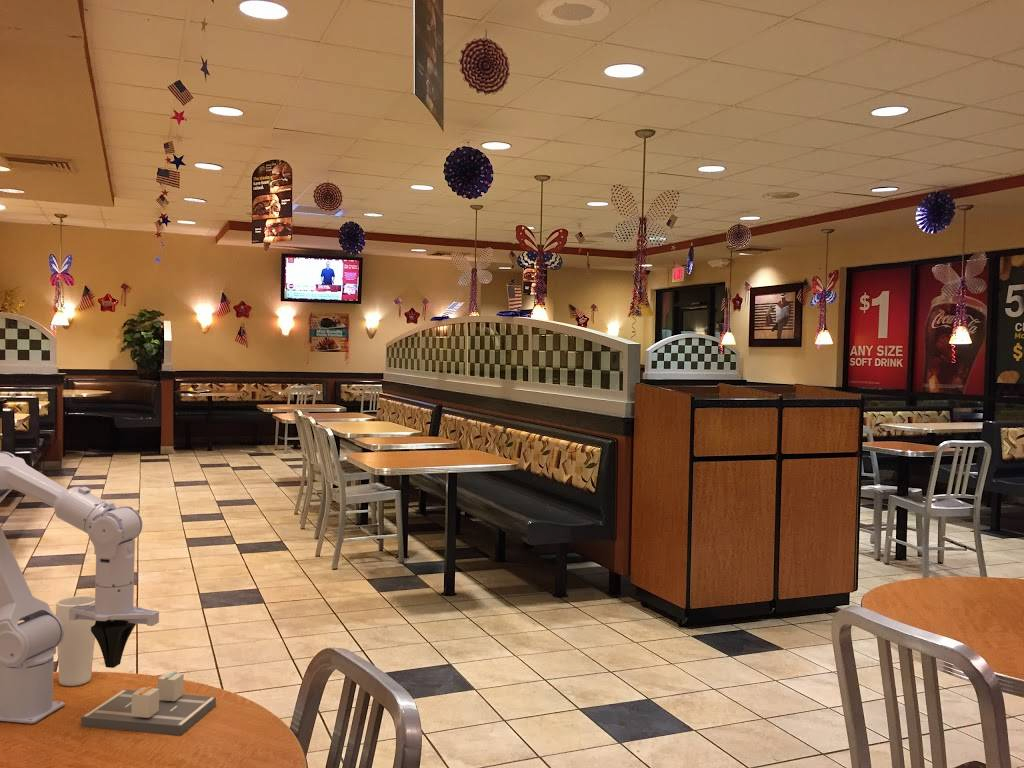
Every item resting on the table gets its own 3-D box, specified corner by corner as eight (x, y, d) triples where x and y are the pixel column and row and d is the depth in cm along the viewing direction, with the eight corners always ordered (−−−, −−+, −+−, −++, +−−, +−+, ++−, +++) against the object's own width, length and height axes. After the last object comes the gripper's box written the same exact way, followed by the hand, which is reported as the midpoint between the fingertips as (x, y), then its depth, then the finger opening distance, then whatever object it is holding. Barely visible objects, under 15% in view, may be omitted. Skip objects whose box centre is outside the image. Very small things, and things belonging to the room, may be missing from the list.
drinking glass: (78, 690, 152) (80, 607, 152) (45, 686, 153) (47, 603, 153) (104, 677, 159) (105, 597, 158) (72, 673, 160) (73, 594, 160)
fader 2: (157, 699, 144) (158, 676, 144) (166, 693, 147) (167, 670, 147) (174, 701, 144) (174, 678, 144) (183, 694, 147) (183, 672, 147)
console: (81, 726, 138) (81, 716, 138) (123, 697, 149) (123, 689, 149) (180, 735, 136) (180, 725, 135) (215, 705, 147) (216, 696, 147)
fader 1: (131, 716, 138) (131, 692, 137) (141, 708, 141) (142, 685, 140) (148, 717, 137) (149, 693, 137) (158, 710, 140) (159, 686, 140)
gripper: (57, 586, 136) (55, 670, 136) (143, 592, 134) (141, 677, 135) (84, 575, 143) (83, 656, 143) (166, 581, 141) (164, 662, 142)
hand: (112, 665), depth 139 cm, fingers closed
